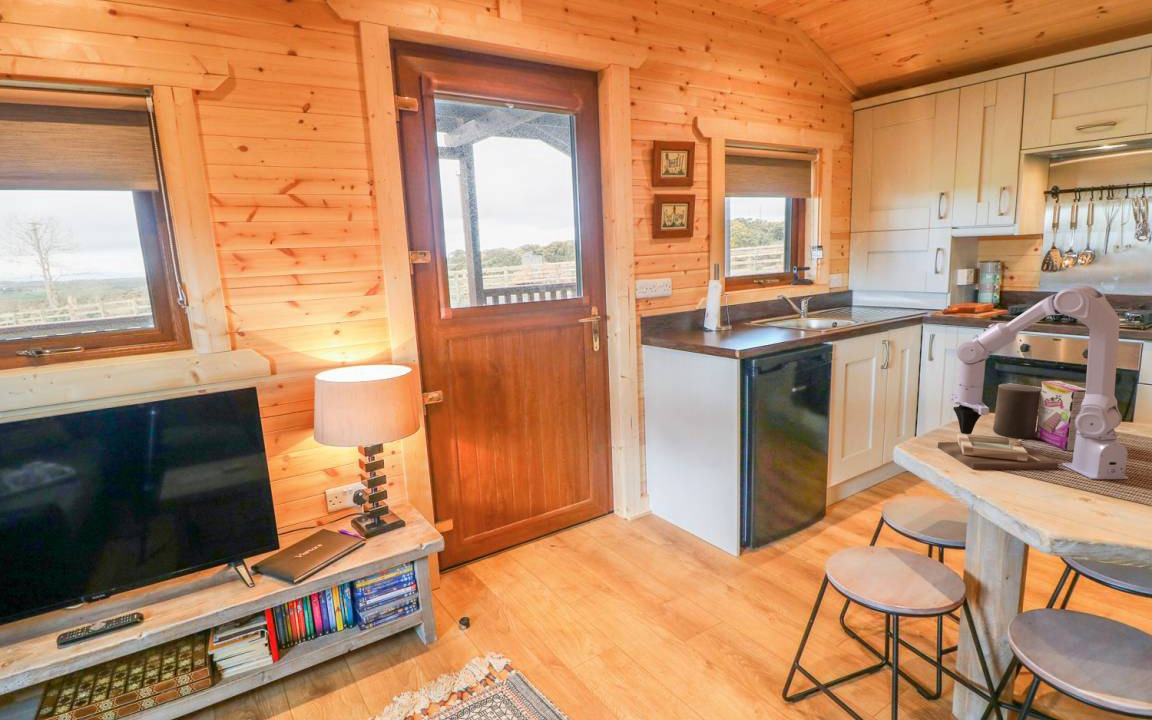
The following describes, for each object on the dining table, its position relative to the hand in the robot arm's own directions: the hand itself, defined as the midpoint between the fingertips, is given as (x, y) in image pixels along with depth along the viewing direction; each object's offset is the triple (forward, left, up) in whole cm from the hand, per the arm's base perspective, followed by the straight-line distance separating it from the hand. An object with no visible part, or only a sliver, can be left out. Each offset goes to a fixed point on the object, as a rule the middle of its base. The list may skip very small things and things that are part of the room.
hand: (965, 433), depth 160 cm
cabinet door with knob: (-11, 0, -1) cm, 11 cm away
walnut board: (-11, -1, -3) cm, 12 cm away
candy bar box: (-1, -23, -3) cm, 24 cm away
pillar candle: (+8, -18, -3) cm, 20 cm away
